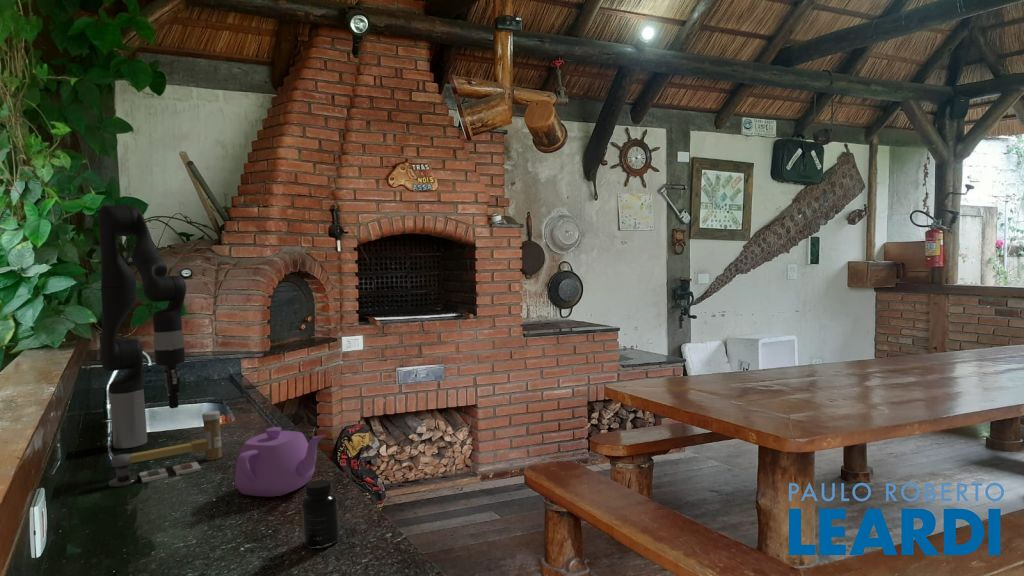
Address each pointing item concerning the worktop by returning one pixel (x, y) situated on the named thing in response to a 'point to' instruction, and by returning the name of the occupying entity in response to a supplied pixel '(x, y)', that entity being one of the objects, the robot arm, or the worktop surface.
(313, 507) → the supplement bottle
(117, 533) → the worktop surface
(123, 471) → the post
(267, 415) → the worktop surface
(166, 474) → the label tile
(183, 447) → the swing bar
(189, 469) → the label tile
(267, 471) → the teapot
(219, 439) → the sprinkles bottle
